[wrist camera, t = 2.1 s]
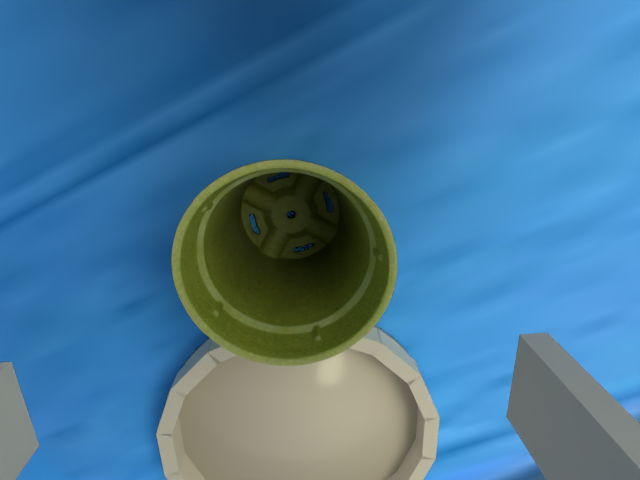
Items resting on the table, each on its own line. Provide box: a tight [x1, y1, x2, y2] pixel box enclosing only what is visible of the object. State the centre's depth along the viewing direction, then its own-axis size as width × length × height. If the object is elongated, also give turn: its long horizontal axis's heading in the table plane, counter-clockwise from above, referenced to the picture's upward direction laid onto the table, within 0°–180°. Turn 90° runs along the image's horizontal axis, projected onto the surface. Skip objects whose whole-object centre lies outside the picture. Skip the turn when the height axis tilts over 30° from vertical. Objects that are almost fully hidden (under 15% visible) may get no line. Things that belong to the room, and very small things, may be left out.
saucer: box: [156, 325, 439, 480], centre depth 30 cm, size 19×19×2 cm
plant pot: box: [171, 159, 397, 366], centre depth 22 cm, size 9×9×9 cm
